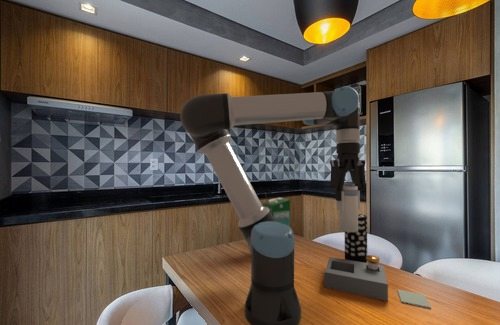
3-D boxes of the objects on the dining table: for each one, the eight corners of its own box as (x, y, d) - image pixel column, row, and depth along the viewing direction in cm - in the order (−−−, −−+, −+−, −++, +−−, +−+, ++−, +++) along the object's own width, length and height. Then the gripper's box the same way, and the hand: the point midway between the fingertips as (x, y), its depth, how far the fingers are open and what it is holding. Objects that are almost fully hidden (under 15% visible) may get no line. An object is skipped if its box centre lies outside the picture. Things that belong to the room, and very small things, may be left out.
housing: (387, 301, 69) (387, 284, 69) (324, 287, 76) (324, 272, 76) (383, 280, 81) (383, 265, 81) (329, 269, 89) (329, 256, 89)
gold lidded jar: (379, 280, 76) (379, 260, 76) (366, 277, 78) (366, 258, 78) (379, 275, 80) (378, 256, 80) (366, 272, 82) (366, 254, 82)
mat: (430, 308, 65) (430, 307, 65) (401, 302, 68) (401, 301, 68) (424, 296, 71) (424, 294, 71) (397, 290, 74) (397, 289, 74)
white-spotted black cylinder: (348, 259, 99) (348, 212, 99) (369, 264, 94) (369, 215, 94) (341, 265, 93) (341, 215, 93) (364, 272, 87) (364, 218, 88)
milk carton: (262, 251, 108) (262, 197, 108) (279, 248, 112) (279, 196, 112) (272, 258, 100) (272, 200, 100) (290, 255, 103) (290, 199, 104)
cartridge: (362, 231, 78) (362, 183, 78) (348, 233, 76) (347, 184, 76) (348, 226, 84) (348, 182, 84) (335, 228, 81) (334, 182, 82)
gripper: (360, 144, 87) (360, 206, 87) (318, 142, 80) (318, 209, 80) (377, 142, 80) (378, 209, 80) (332, 140, 73) (333, 213, 73)
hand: (348, 209), depth 80 cm, fingers closed on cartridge, 6 cm apart
